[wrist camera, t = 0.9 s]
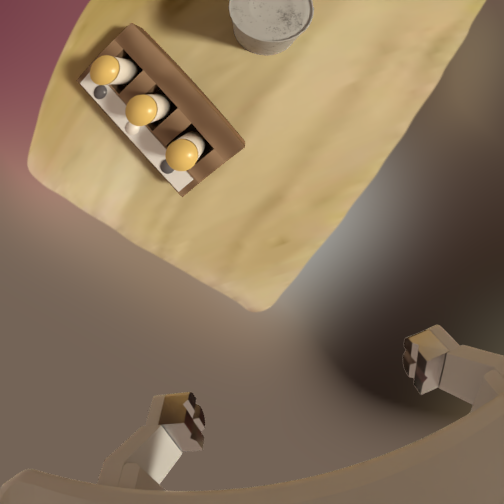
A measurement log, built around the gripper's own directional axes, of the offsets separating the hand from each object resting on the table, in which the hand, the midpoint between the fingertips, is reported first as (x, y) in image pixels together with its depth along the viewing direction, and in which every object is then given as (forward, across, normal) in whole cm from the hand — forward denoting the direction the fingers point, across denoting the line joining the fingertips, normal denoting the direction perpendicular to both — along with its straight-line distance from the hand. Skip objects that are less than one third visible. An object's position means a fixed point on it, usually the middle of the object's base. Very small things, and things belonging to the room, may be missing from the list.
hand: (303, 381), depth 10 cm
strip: (+34, +14, -16) cm, 41 cm away
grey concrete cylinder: (+36, -8, -27) cm, 46 cm away
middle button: (+36, +10, -18) cm, 41 cm away
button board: (+39, +10, -19) cm, 44 cm away
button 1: (+35, +13, -25) cm, 45 cm away
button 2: (+37, +7, -11) cm, 39 cm away
